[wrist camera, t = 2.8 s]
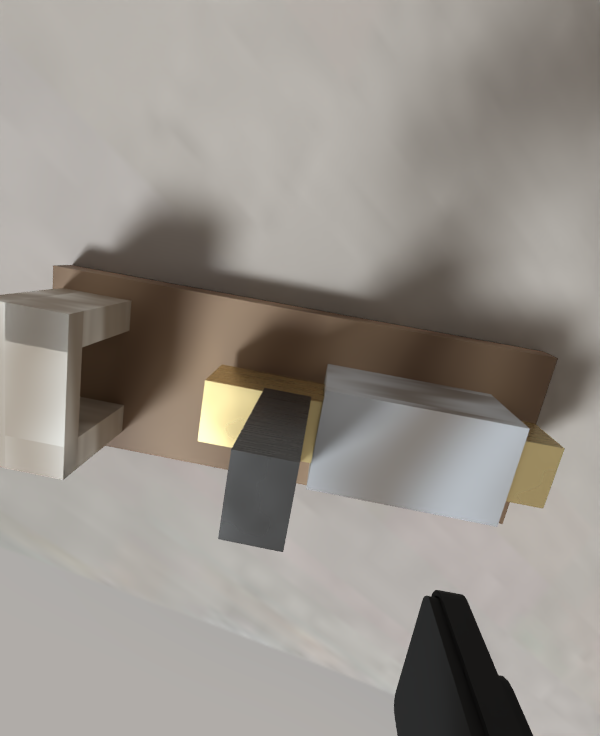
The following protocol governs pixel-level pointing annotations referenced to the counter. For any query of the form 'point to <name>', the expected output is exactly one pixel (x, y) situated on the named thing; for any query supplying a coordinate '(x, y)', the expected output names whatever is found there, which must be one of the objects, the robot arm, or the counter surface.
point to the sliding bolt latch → (270, 355)
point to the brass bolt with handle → (302, 451)
